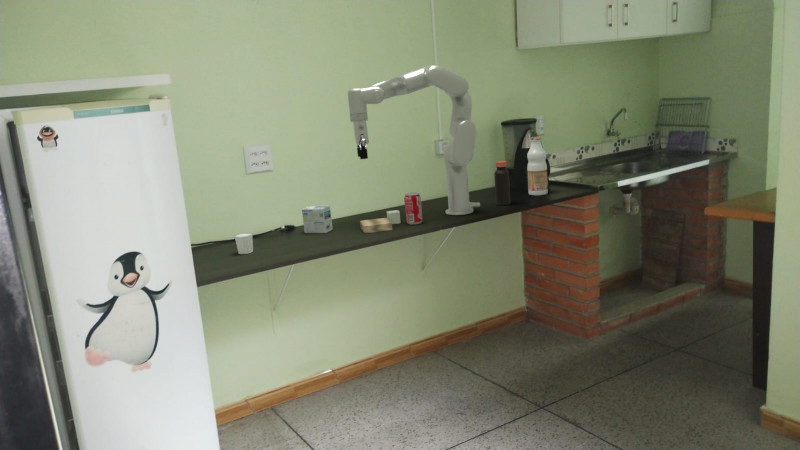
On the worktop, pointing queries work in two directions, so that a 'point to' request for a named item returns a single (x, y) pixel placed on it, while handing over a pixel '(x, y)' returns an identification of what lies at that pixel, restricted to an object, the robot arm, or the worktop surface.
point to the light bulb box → (317, 219)
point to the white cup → (244, 243)
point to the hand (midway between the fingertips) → (362, 157)
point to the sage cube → (394, 216)
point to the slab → (376, 225)
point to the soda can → (413, 208)
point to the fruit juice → (537, 168)
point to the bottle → (502, 184)
